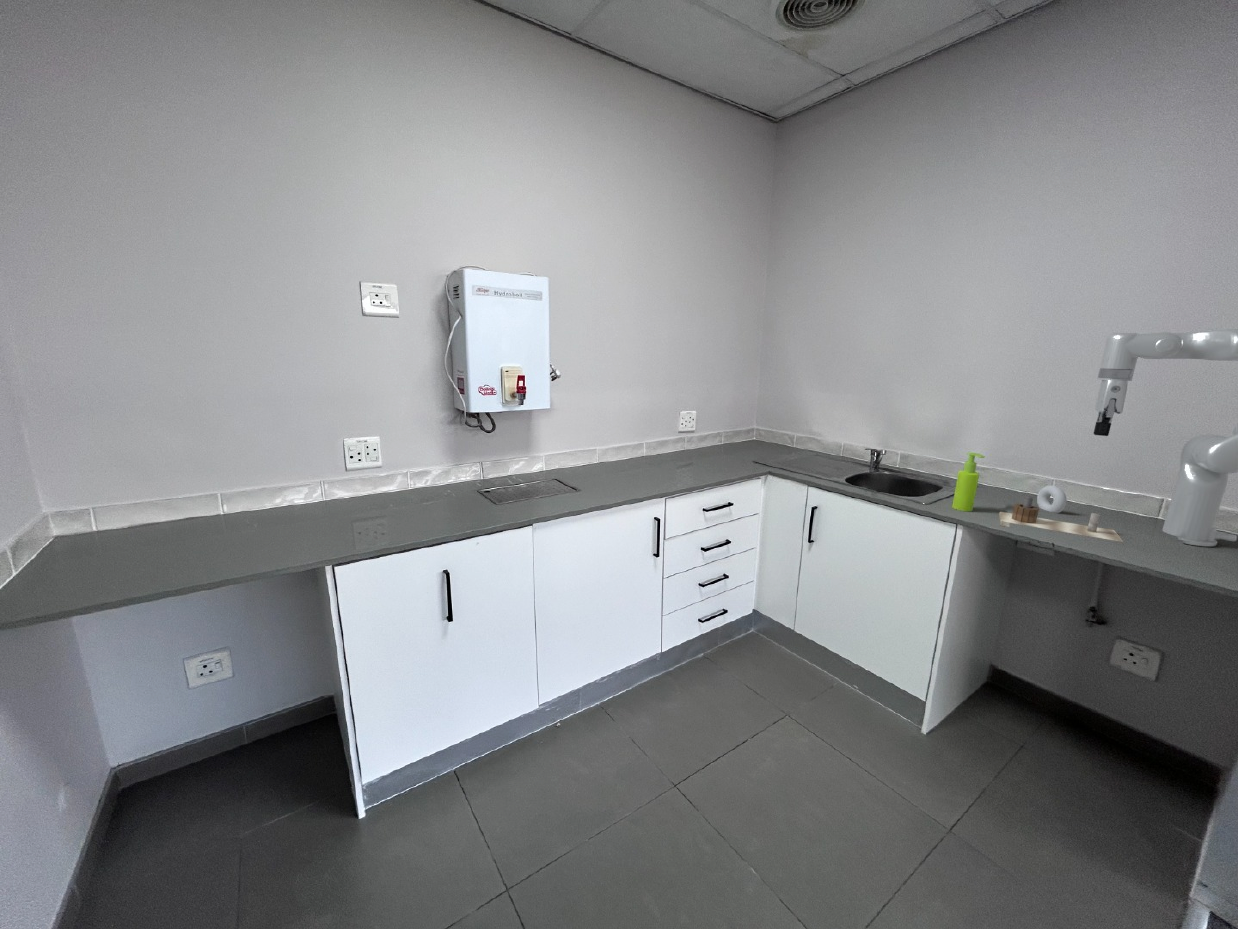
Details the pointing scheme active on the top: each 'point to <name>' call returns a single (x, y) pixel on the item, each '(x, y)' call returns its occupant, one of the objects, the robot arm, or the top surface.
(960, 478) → the soap dispenser
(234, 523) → the top surface
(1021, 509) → the walnut ring
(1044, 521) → the peg board
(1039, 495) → the donut
